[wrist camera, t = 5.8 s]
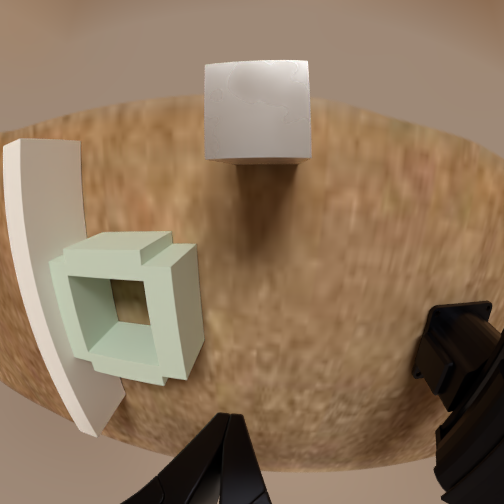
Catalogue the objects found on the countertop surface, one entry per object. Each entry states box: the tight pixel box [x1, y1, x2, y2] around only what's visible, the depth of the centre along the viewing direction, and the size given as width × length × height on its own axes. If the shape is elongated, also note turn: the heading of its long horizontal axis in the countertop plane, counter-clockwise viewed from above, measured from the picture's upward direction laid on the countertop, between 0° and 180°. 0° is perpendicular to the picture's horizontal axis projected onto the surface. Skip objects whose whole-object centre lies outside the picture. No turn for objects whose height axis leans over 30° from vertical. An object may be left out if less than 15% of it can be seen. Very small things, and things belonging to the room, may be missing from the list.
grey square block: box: [204, 60, 311, 165], centre depth 12 cm, size 4×4×7 cm
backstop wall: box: [3, 138, 126, 438], centre depth 17 cm, size 2×22×6 cm, turn 1°
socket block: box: [48, 231, 205, 386], centre depth 17 cm, size 9×9×4 cm
